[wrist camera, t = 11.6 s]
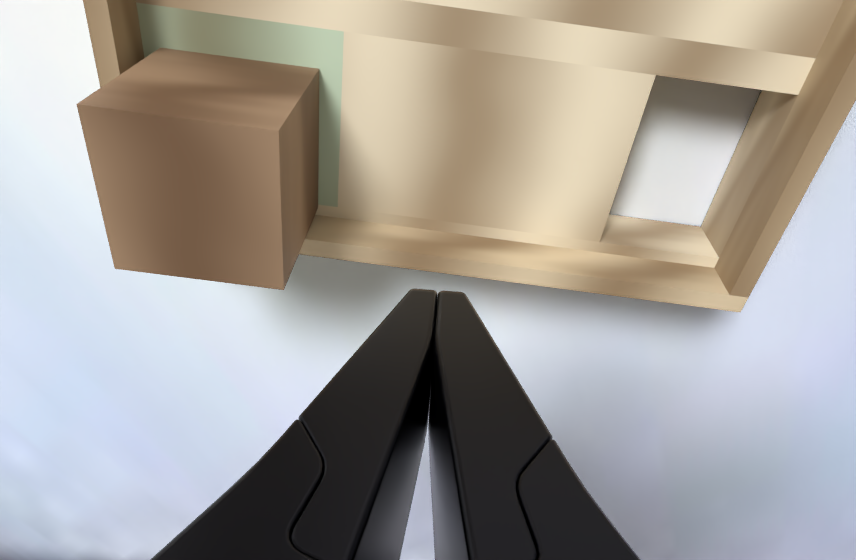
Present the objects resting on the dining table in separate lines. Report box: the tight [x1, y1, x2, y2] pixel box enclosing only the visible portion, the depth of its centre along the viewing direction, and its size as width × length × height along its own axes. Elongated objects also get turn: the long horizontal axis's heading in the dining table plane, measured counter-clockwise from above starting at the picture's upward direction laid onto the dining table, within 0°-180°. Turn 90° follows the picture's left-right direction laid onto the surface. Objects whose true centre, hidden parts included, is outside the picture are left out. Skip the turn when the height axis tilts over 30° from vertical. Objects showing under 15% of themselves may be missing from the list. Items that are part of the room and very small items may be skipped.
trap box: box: [83, 0, 856, 312], centre depth 17 cm, size 20×14×4 cm
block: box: [77, 48, 319, 290], centre depth 17 cm, size 4×4×4 cm
